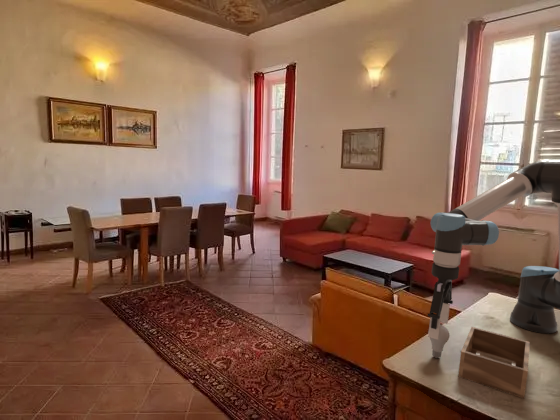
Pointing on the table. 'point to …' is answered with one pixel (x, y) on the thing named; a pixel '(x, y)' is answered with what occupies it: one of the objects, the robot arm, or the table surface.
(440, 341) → the lightbulb
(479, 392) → the table surface
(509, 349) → the crate
